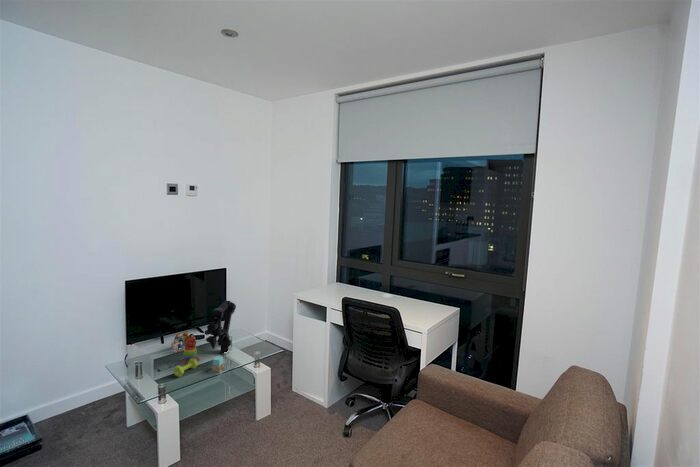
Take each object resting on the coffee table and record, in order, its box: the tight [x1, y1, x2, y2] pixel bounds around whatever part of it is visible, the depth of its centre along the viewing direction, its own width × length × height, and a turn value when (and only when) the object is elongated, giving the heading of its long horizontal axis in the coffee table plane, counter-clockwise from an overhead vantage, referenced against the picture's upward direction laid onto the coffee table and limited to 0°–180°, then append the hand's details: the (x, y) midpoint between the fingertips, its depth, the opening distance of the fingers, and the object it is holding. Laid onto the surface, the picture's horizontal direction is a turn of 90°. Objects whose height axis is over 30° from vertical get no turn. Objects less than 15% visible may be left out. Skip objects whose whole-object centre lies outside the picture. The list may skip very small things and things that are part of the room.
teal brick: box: [212, 355, 224, 366], centre depth 253 cm, size 5×5×4 cm
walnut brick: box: [211, 362, 225, 373], centre depth 253 cm, size 6×6×4 cm
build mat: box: [207, 368, 223, 375], centre depth 254 cm, size 10×10×1 cm
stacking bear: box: [183, 337, 201, 365], centre depth 263 cm, size 11×10×18 cm
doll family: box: [170, 331, 196, 355], centre depth 281 cm, size 21×10×13 cm, turn 150°
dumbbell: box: [172, 358, 199, 378], centre depth 249 cm, size 16×8×7 cm, turn 157°
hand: (216, 346), depth 264 cm, fingers open, 9 cm apart
